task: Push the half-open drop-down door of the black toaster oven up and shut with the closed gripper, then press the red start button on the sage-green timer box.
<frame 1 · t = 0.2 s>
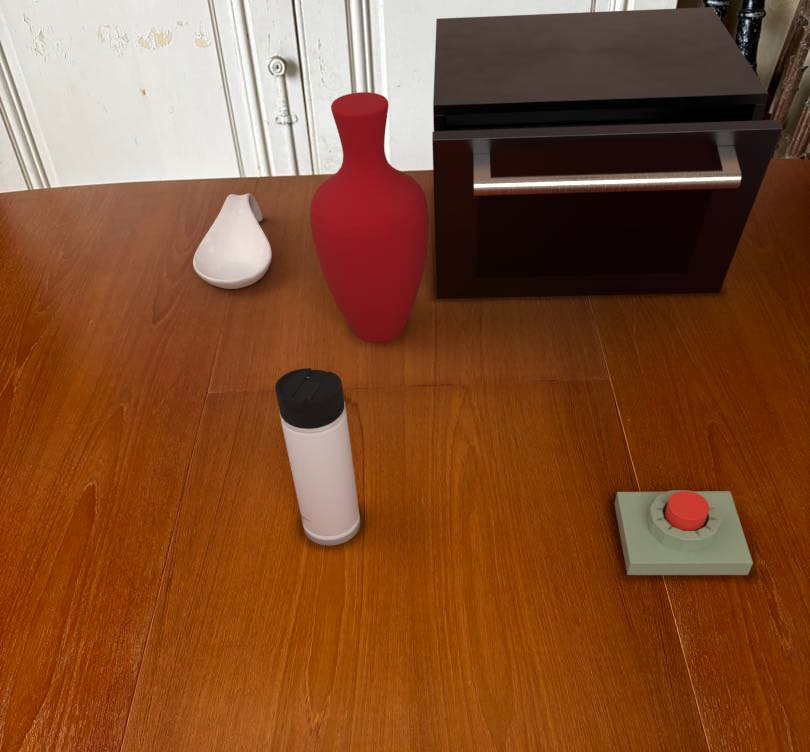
travel mug: (332, 528, 90), on the table
oven: (565, 234, 128), on the table
timer box: (677, 539, 86), on the table
start button: (686, 510, 82), point 4 cm above the table, slide at 0.1 cm
vase: (379, 331, 114), on the table
oven door: (590, 235, 104), point 12 cm above the table, hinge at 12.9°
spoon rest: (241, 260, 128), on the table
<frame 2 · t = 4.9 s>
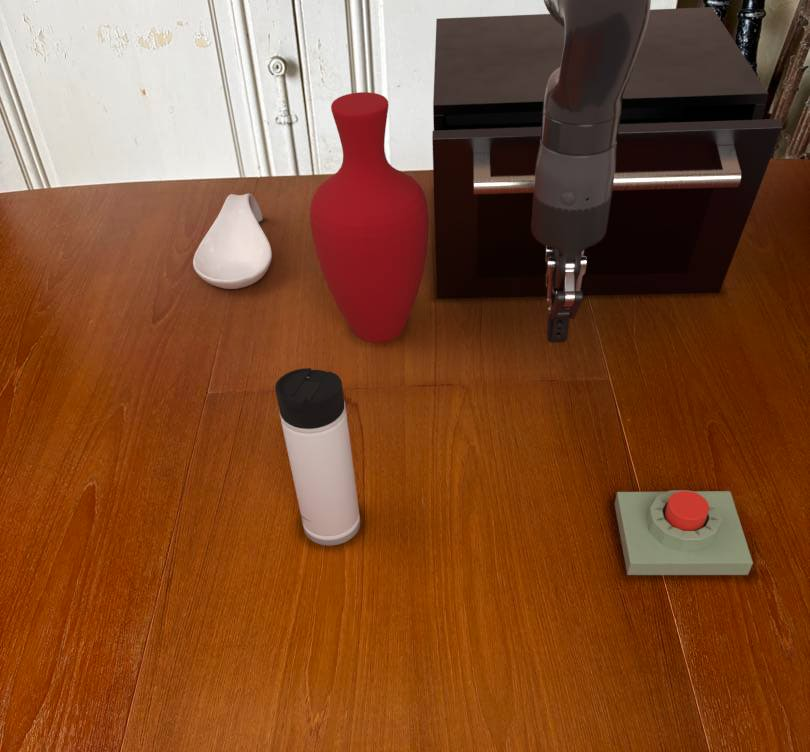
hand: (556, 338, 92), 11 cm above the table, tool pointing down, fingers closed
oven door: (590, 234, 104), point 12 cm above the table, hinge at 12.6°
everything else where it was.
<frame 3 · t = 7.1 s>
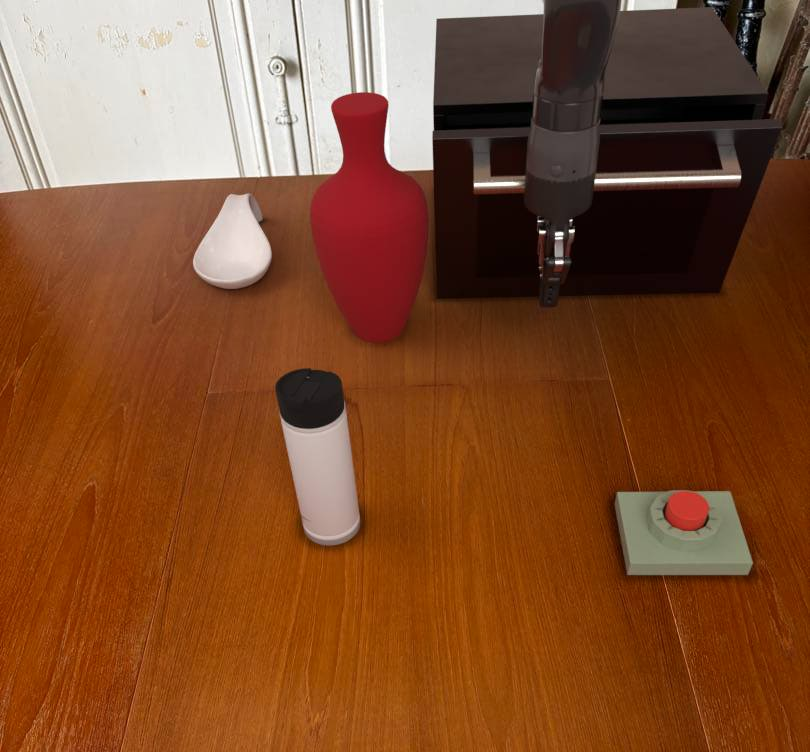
hand: (547, 303, 100), 9 cm above the table, tool pointing down, fingers closed
nothing on the table moved.
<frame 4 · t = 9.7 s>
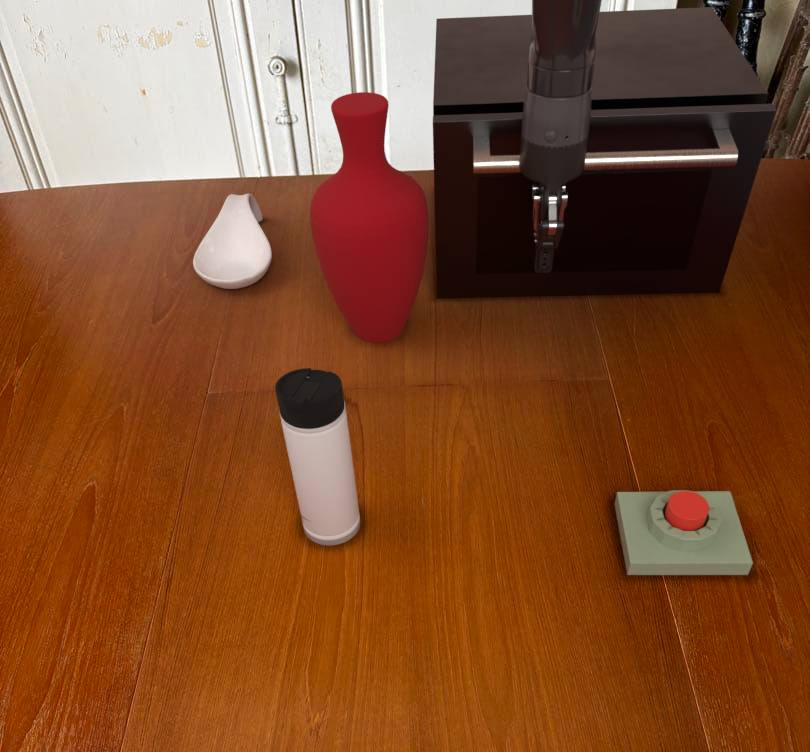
hand: (542, 269, 105), 9 cm above the table, tool pointing down, fingers closed
oven door: (589, 224, 105), point 13 cm above the table, hinge at 5.1°, touching hand
everything else where it was.
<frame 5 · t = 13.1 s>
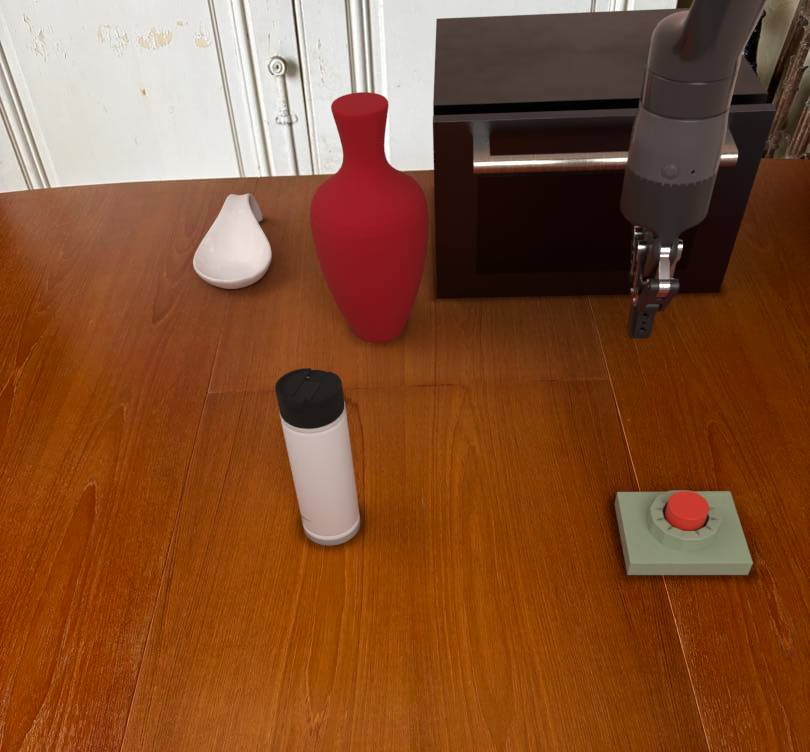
hand: (638, 333, 81), 17 cm above the table, tool pointing down, fingers closed
oven door: (589, 224, 105), point 13 cm above the table, hinge at 5.1°
everything else where it was.
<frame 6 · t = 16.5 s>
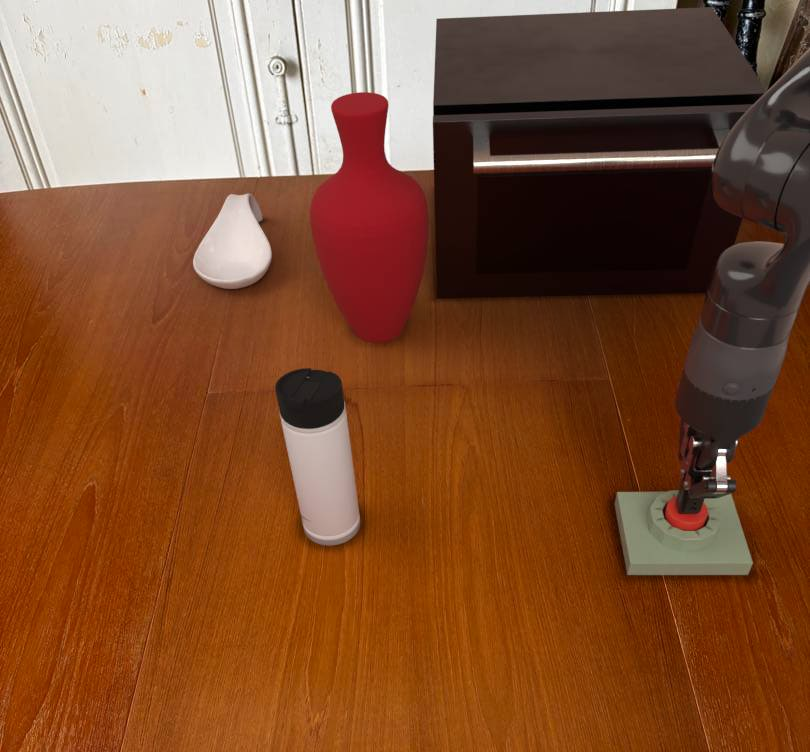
hand: (686, 508, 82), 5 cm above the table, tool pointing down, fingers closed
start button: (685, 514, 83), point 4 cm above the table, slide at -0.4 cm, touching gripper
everything else where it was.
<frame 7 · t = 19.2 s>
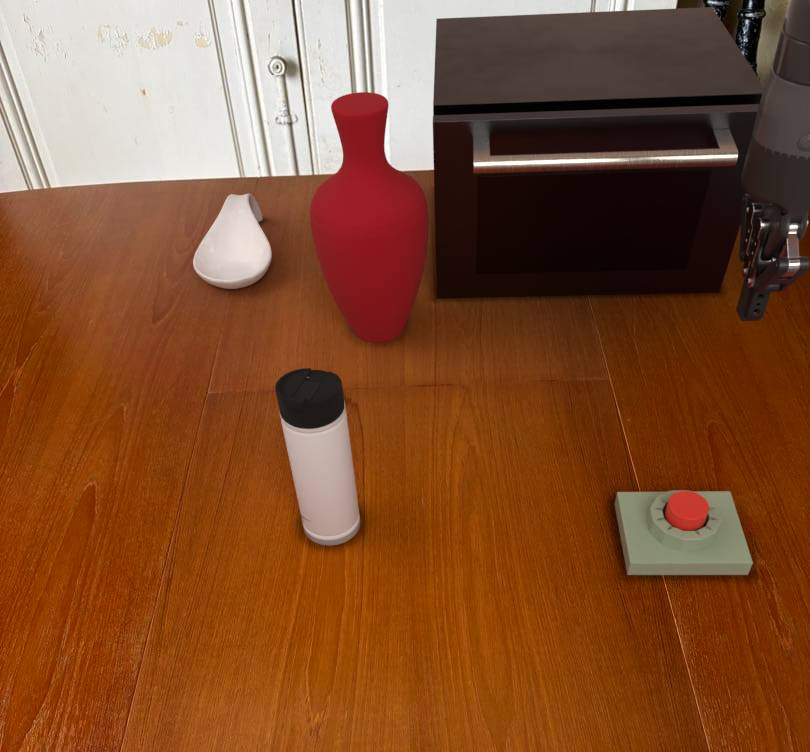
hand: (748, 316, 78), 20 cm above the table, tool pointing down, fingers closed
start button: (686, 510, 82), point 4 cm above the table, slide at 0.1 cm
everything else where it was.
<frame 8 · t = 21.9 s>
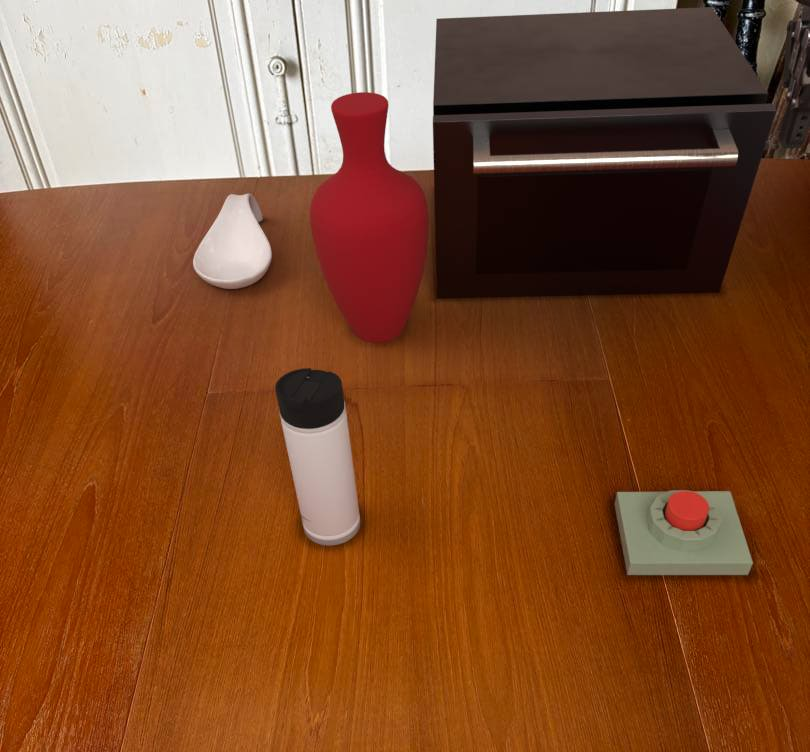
hand: (789, 144, 81), 29 cm above the table, tool pointing down, fingers closed
nothing on the table moved.
at the end: start button pushed in 1.1 cm at the most during the clip, back to where it started at the end; start button slide at 0.1 cm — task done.
